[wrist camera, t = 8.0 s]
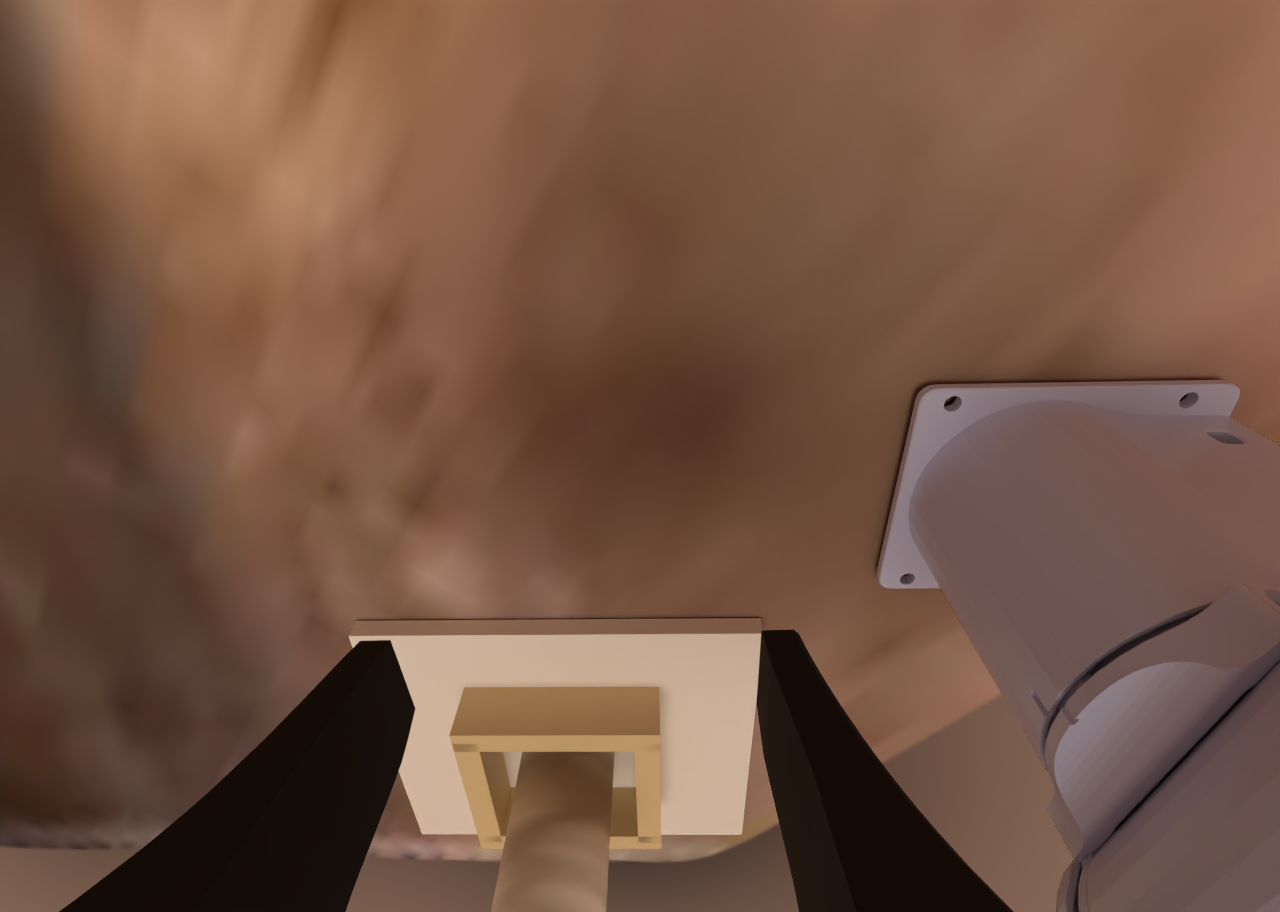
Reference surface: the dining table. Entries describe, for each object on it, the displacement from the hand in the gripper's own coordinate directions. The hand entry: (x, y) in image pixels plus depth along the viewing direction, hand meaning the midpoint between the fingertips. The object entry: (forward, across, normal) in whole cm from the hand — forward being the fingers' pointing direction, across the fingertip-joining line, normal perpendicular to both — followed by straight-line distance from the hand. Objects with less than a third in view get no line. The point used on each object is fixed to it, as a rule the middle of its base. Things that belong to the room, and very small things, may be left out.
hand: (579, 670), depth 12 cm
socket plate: (+9, +3, +15) cm, 18 cm away
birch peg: (+9, +3, +15) cm, 18 cm away
